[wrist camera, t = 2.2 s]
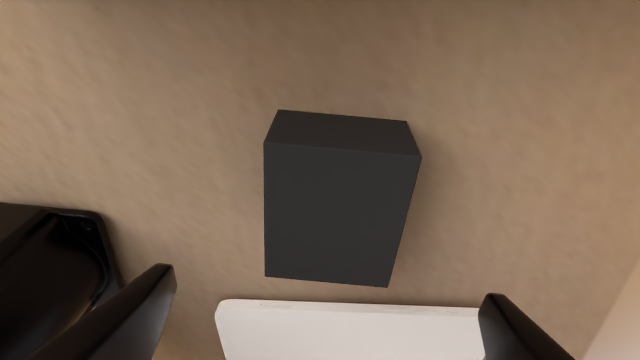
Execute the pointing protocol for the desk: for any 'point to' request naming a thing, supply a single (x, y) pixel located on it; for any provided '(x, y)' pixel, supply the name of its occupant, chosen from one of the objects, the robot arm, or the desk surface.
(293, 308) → the smartphone
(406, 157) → the black block
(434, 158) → the desk surface
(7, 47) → the desk surface
